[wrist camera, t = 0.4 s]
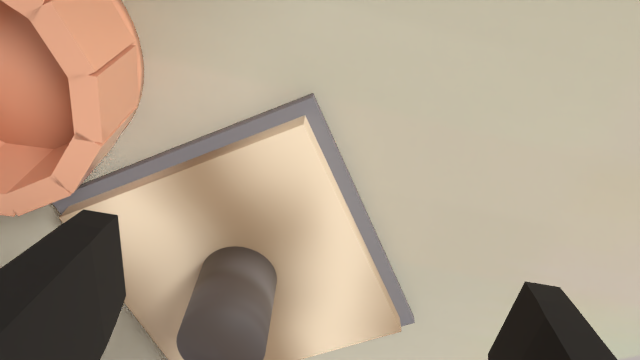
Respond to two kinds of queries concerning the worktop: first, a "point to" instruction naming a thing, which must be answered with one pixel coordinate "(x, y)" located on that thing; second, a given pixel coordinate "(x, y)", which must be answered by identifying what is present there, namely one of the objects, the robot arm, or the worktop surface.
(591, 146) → the worktop surface
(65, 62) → the bowl
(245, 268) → the lid
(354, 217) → the mat
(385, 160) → the worktop surface
